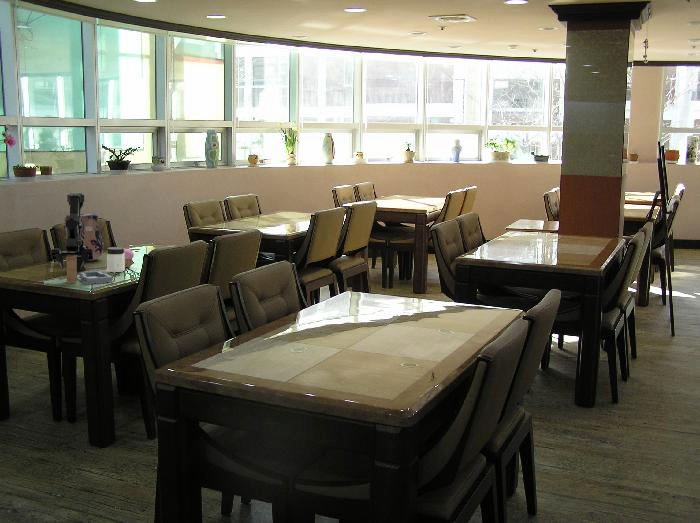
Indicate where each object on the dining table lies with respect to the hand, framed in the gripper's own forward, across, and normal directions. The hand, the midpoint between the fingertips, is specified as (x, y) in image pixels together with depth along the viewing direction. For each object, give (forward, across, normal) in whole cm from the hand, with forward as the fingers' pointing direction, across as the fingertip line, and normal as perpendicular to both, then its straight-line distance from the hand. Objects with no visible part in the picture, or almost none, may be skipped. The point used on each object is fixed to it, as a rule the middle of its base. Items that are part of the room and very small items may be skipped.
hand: (71, 268), depth 365 cm
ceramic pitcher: (-42, +1, +52) cm, 66 cm away
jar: (-15, +19, +25) cm, 35 cm away
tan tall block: (+4, 0, +6) cm, 7 cm away
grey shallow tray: (0, +10, +9) cm, 14 cm away
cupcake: (-23, +23, +33) cm, 47 cm away
